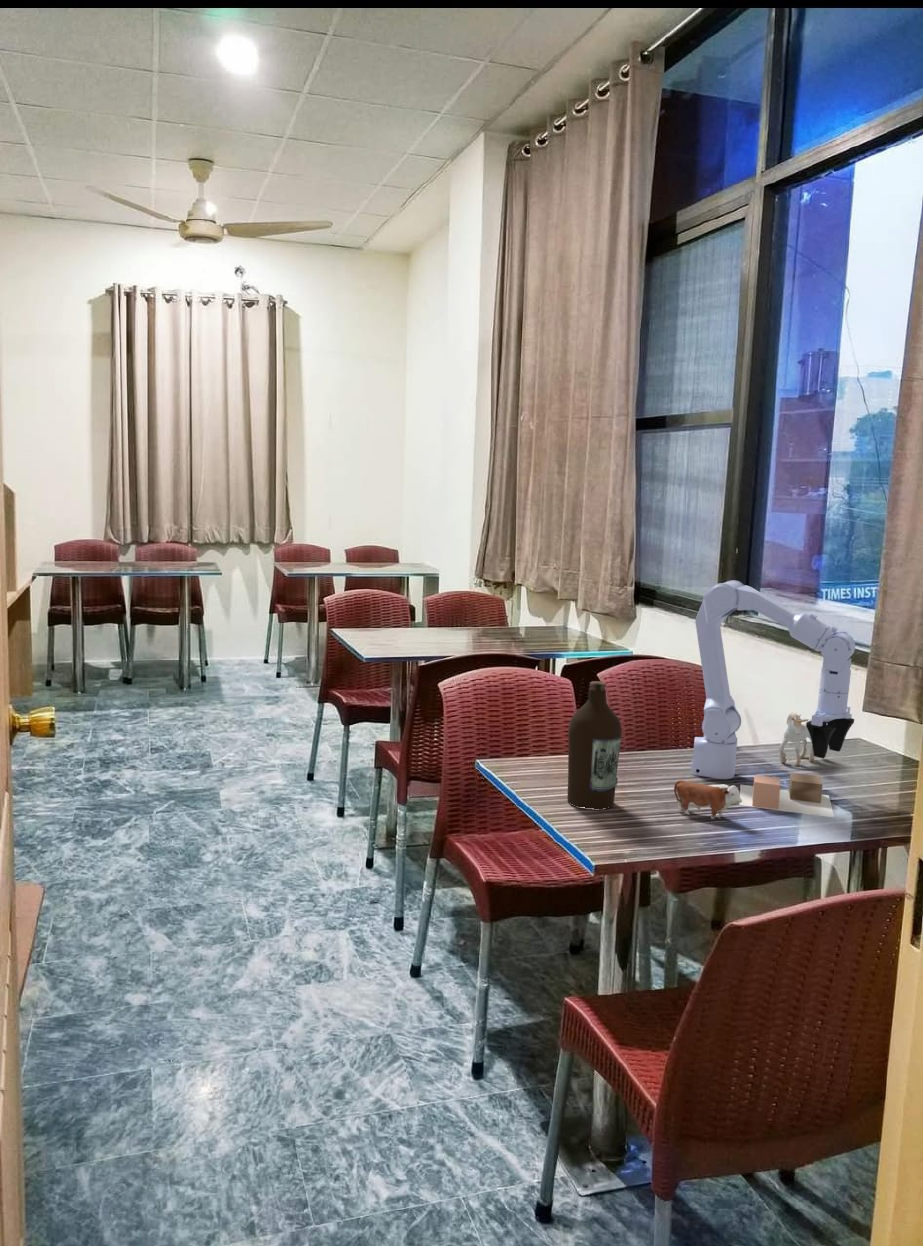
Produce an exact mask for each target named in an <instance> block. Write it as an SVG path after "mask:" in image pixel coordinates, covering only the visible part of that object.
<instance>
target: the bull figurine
mask: <svg viewBox="0 0 923 1246" xmlns="http://www.w3.org/2000/svg"><path fill="white" fill-rule="evenodd" d="M673 791H674V796H675V798H676V805H677V808H678V809H677V810H678V811H679V812H682V811H684V814H685V815H691V813H690V811H689V805H690V803H692V804H694V805H695V807H696V808H697V810H700V809H701V807H703V808H704V807H705V808H711V816H710V819H712V820H715V817H716V816H717V814H718V817H720V818H722V817H723V811H726V810H727V809H729V808H730V806H731V805H733V804H740V803H741V802H742V799H741V798H740V786H736V785H731V786H729V785H727V784H719V785H718V784H711V785H710V784H703V783H697V782H691V781H686V780H678V781H676V783H675V784H674V787H673Z"/></svg>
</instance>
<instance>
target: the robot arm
mask: <svg viewBox="0 0 923 1246" xmlns="http://www.w3.org/2000/svg"><path fill="white" fill-rule="evenodd" d="M736 610H737V611H755V612H756V613H758V614H760V615H763V616H765V617H766V618H768V619H771V620H772V621H774V622H776V623H778V624H780V625H782V626H783V627H786V628H787V629H788V633H789V635H790V637H791V638H793V639H795V640H796V641H799V642H800V643H802V644H804V645H806V646H807V647H809V648H810V649H813V650H814V651H815V652H820V654H821V656H822V658H823V659H822V667H821V669H820V670H821V672H820V679H819V680H820V681H819V689H818V699H817V707H816V709H815V712H814V714H812V715H811V719H812V721H809V720H808V722H807V723H806V727H807V729H808V731H809V733H810V736H811V740H812V742H811V744H812V745H811V747H812V746H813V753H814V757H816V758H821V759H825V758H826V756H827V753H828V749H829V750H831V751H835V752H840V751H841V749H842V747H843V744H844V742H845V739H846V736H847V734H848V732H849V731H850V729H851V727H852V726H853V724H854V723H855V719H854V718H852V716H853V715H852V714H853V713H851V706H848V701H849V700H848V699H849V691H850V683H851V675H852V674H851V673H852V669H851V666H852V658H851V657H852V655H853V654H854V653H855V650H856V642H855V640H854V638H853V636H851V635H849V633H847V631H844V630H843V631H840V630H839V631H838V628H837V627H836V626H832V627H831V626H830V625H827V624H826V623H824V622H822V621H820V620H819V619H817V618H818V616H817V615H816V614H814V613H810V614H809V613H806V612H804V613H799V614H795V612H793V611H792V610H789V608H787V607H785V606H783V605H781V604H779V603H778V602H776V601H775V600H774V599H771V598H770V597H768V596H767V595H765V594H764V593H762V592H761V591H758V590H757V589H755V588H753V587H752V586H749V585H746V584H745V585H744V584H743V583H742V582H741V581H739V580H735V579H733V580H727V581H726V582H723V583H722V582H721V583H715V584H714V585H713V586H712V587H711V588H710V589H708V590H707V592H706V593H704V595H703V599H702V603H701V605H700V607H699V610H698V612H697V614H696V617H695V622H694V623H695V628H696V634H697V642H698V649H699V655H700V662H701V669H702V677H703V685H704V692H705V697H706V698H705V699H706V700H705V702H704V706H703V715H704V716H703V721H702V724H701V730H702V733H703V736H702V737H701V736H695V737H694V740H693V741H694V743H693V753H692V760H691V763H690V769H691V775H693V776H699V777H700V776H701V777H706V778H712V779H718V780H728V779H733V778H735V772H736V771H735V770H736V759H737V747H738V737H737V734H736V732H737V731H739V729H740V727H741V726H742V717H741V714H740V713H739V711H738V710H737V708H736V703H735V700H734V698H733V696H731V692H730V685H729V679H728V677H729V676H728V672H727V665H726V658H725V650H724V643H723V637H722V630H721V629H722V628H721V625H722V624H723V622H725V620H726V619H727V618H728V617H729V615H730V614H732V613H734V611H736ZM811 740H810V741H811ZM697 770H699V771H697Z"/></svg>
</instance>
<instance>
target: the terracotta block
mask: <svg viewBox="0 0 923 1246" xmlns="http://www.w3.org/2000/svg"><path fill="white" fill-rule="evenodd" d="M752 786H753V797H752V806H757V807H765V808H772V809H778V806H779V796H780V790H781V778H780V777H775V776H773V777H772V776H767V775H757V774H754V777H753V785H752ZM757 807H756V808H757ZM765 808H764V809H765ZM772 809H771V810H772Z"/></svg>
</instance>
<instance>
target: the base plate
mask: <svg viewBox="0 0 923 1246" xmlns="http://www.w3.org/2000/svg"><path fill="white" fill-rule="evenodd" d="M753 786H754V785H749V784H748V785H745V784H740V786H739V793H740V798H741V799H742V802H741V803H738V806H743V807H744V806H745V807H750V808H756V809H757V808H759V809H767V810H774V811H780V812H788V813H789V812H790V813H796V814H805V815H811V816H817V817H818V816H820V817H826V818H827V817H828V818H835V816H834V811H833V807H832V803H831V798H830V795H827V794H822V795H821V803H815V802H807V801H799V800H792V799H790V795H789V789H788V790H787V789H780V796H779V806H778V809H772V808H765V807H757V806H752V797H753Z"/></svg>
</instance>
